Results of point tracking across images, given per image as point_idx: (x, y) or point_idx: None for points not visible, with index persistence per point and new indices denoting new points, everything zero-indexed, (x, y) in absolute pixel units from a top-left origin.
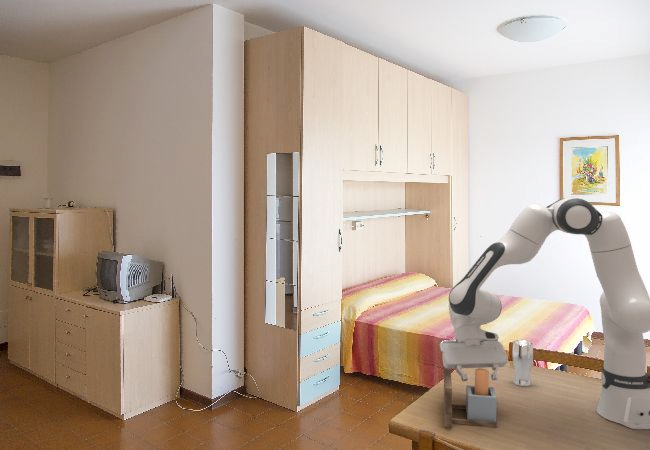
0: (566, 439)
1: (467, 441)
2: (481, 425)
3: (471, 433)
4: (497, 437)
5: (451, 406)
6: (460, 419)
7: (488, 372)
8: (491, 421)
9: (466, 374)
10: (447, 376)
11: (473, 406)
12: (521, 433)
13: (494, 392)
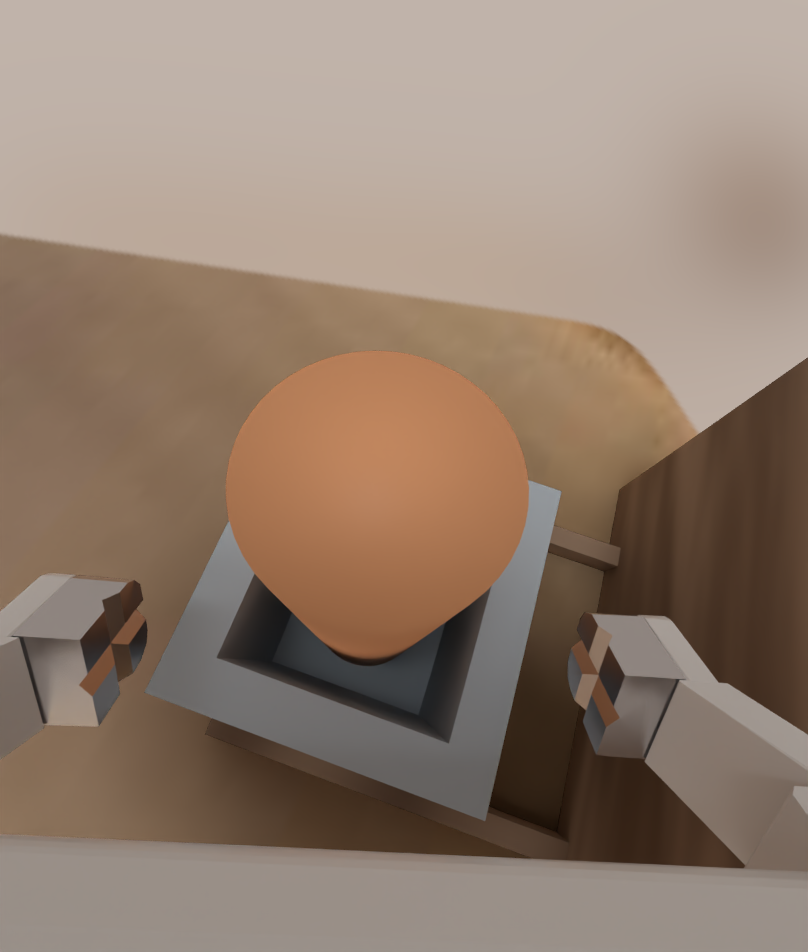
0: (16, 280)
1: (565, 344)
2: None
3: (517, 415)
4: None
5: (715, 427)
6: (557, 536)
7: (268, 400)
8: None
9: (626, 665)
10: None
11: None
12: (222, 372)
13: (229, 532)
